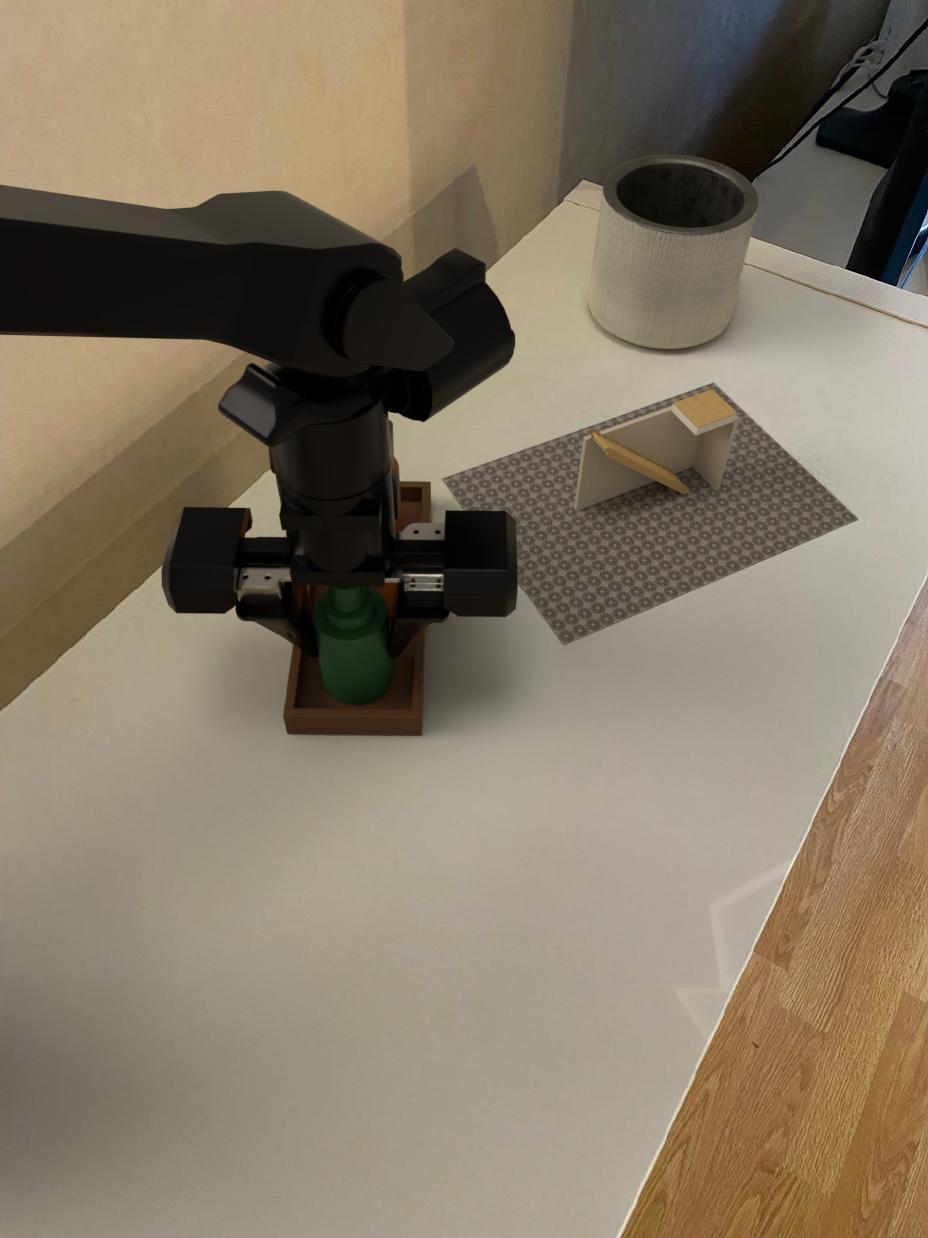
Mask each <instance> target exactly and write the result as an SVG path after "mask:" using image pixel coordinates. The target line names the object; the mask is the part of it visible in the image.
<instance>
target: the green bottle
mask: <svg viewBox="0 0 928 1238" xmlns="http://www.w3.org/2000/svg"><path fill="white" fill-rule="evenodd" d="M312 619H313V625H314V631H315V637H316V643H317V649H318V655H319V661H320V667H321V673H322V679H323V684H324V687H325V689H326V691H327V692H328V693H329V695H330V696H331V697H333V698H334V699H335V700H337V701H339V702H341V703H344V704H348V705H364V704H368V703H371V702H373V701H375V700H377V699H379V698H380V697H382V696H383V695H384V694H385V693H386V692H387V690H388V689H389V687H390V686H391V683H392V680H393V667H392V659H391V658H390V654H389V643H390V627H389V613H388V605H387V602H386V600H385V598H384V597H383V595H382V594H381V593H380V592H379V591H377V590H376V589H375V588H373V587H371V586H329V589H327V590H326V591H325V592H323V593H322V594H321V595H320V596H319V597H318V598H317V600H316V602H315V603H314V606H313V609H312Z"/></svg>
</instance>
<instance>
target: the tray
mask: <svg viewBox="0 0 928 1238" xmlns="http://www.w3.org/2000/svg"><path fill="white" fill-rule="evenodd" d="M400 495H401V514H402V531H403V530H404V529H405V527H406V526H408V525H409V524H412V523H431V519H432V518H431V516H432V515H431V514H432V483H431V481H426V480H425V481H424V480H423V481H420V480H419V481H418V480H417V481H416V480H413V481H411V480H400ZM306 586H307V589H308V593H309V596H310V600H311V603H312V607H313V606H314V603H315V602H316V600H317V598H318V597H319V596H320V595H321V594H322V593H323V592H325V591H326V590H327V589H329V586H322V585H306ZM391 620H392V616H391V617H390V618H389V627H390V628H391ZM426 643H427V628H425V629H424V630H423V631H422V632H420V633H419V634H418V635H417V636H415V637H414V638H413V639H412V640H411V642H410V643H409V644H408V645H407V646H406V648H405V649H404V650H403V652H402V653H401V654H400V655H399V657H398V658H397V659H392V667H393V680H392V683H391V686H390V687H389V689H388V690H387V692H386V693H385V694H384V695H383V696H382V697H380V698H379V699H377V700H375V701H373V702H371V703H368V704H364V705H348V704H344V703H341V702H339V701H337V700H335V699H334V698H333V697H331V696H330V695H329V693H328V692H327V691H326V689H325V687H324V684H323V679H322V673H321V667H320V661H319V657H318V658H312V657H310V656H309V655H307V654H306V653H305V652H303V651H302V650H300V649H299V648H298V647H296V646H295V645H293V644H292V649H291V651H292V652H291V658H290V664H289V671H288V676H287V677H288V679H287V684H286V691H285V692H286V693H285V699H284V708H283V713H282V718H283V721H284V726H285V730H286V731H285V732H286V735H331V736H332V735H337V736H338V735H341V736H343V735H344V736H345V735H346V736H349V735H350V736H351V735H352V736H418V737H419V736H420V737H421V736H422V735H423V726H424V725H423V724H424V723H423V721H424V699H425V698H424V695H425V674H426V673H425V672H426V671H425V669H426V667H425V666H426V645H427V644H426Z"/></svg>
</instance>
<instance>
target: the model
mask: <svg viewBox="0 0 928 1238" xmlns="http://www.w3.org/2000/svg"><path fill="white" fill-rule="evenodd" d="M739 421H740V417H739V416H738V412H737V411H736V410H735V409H734V408H733V407H731V406H730V405H729V404H728V403H727V402H726V401H725V400H724V399H723V398H722V397H721V396H720V395H719V394H718V393H717V392H716V391H715V390H714V389H712V388H711V389H708V390H706V391H703V392H700V393H697V394H694V395H691V396H689V397H686V398H683V399H680V400H677V401H675V402H673V403H672V405H670V406H667V407H664V408H661V409H659V410H656V411H653V412H650V413H647V414H645V415H642V416H639V417H636V418H633V419H631V420H628V421H625V422H622V423H619V424H617V425H614V426H611V427H608V428H605V429H603V430H600V431H597V430H595V429H593V428H588V429H587V430H586V434H587V435H586V436H583V437H582V445H581V452H580V460H579V467H578V474H577V482H576V489H575V497H574V504H573V508H574V509H575V510H576V511H579V510H582V509H583V508H587V507H590V506H591V505H594V504H598V503H599V502H602V501H605V500H607V499H610V498H613V497H615V496H618V495H621V494H624V493H626V492H629V491H632V490H633V489H636V488H640V487H641V486H644V485H647V484H650V483H652V482H655V481H656V482H658V483H660V484H662V485H664V486H666V487H668V488H670V489H672V490H674V491H676V492H678V493H680V494H682V495H685V494H687V493H689V492H690V491H691V489H690V488H689V487H688V486H686V485H684V483H683V482H682V481H681V480H680V479H679V478H678V477H677V476H676V475H675V474H676V473H678V472H681V471H684V470H687V469H689V468H692V467H693V468H694V469H695V470H696V471H697V472H698V473H699V474H700V475H701V476H702V477H703V478H704V479H705V481H706V482H708V484H709V485H711V487H712V488H714V490H715V491H716V490H718V489H719V488H720V487H721V484H722V480H723V477H724V473H725V470H726V466H727V463H728V459H729V456H730V452H731V449H732V445H733V442H734V438H735V435H736V431H737V428H738V424H739Z"/></svg>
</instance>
